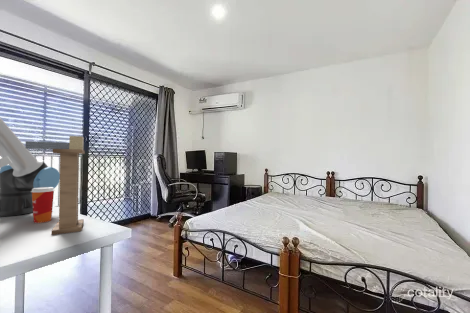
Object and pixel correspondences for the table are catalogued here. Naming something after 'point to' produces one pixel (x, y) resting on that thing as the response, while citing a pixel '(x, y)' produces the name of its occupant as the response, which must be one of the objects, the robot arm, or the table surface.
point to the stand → (68, 192)
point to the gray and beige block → (58, 144)
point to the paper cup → (42, 204)
